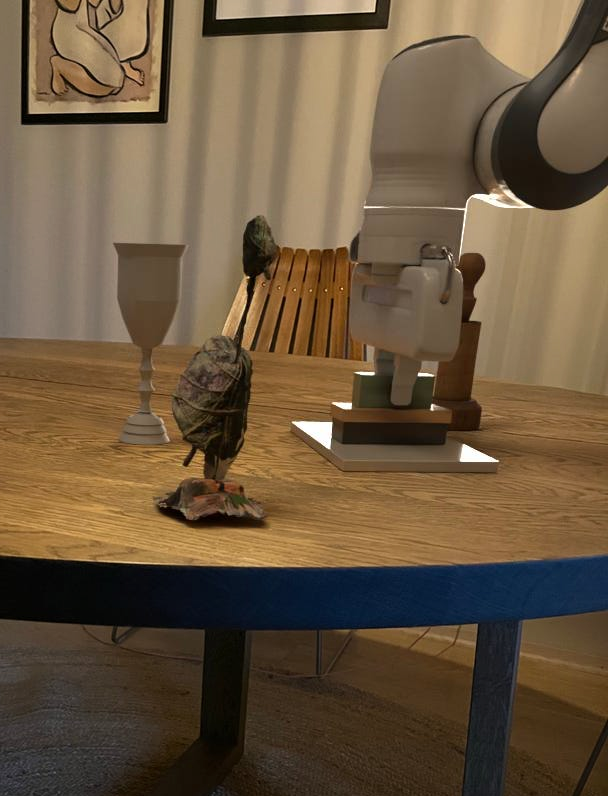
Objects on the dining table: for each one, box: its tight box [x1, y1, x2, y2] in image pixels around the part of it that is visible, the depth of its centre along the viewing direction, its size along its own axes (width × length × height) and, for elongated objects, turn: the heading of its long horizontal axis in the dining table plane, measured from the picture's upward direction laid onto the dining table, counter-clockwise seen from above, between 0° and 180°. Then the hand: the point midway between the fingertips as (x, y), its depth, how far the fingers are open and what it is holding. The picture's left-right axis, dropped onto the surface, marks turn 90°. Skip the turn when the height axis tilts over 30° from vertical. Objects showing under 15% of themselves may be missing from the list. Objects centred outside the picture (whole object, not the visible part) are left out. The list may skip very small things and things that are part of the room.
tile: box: [290, 421, 500, 474], centre depth 99 cm, size 14×20×1 cm
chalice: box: [112, 242, 189, 446], centre depth 98 cm, size 7×7×18 cm
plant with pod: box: [152, 214, 277, 521], centre depth 72 cm, size 8×11×20 cm
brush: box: [329, 371, 452, 445], centre depth 98 cm, size 10×4×6 cm, turn 95°
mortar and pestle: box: [432, 252, 487, 431], centre depth 111 cm, size 7×6×18 cm
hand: (391, 401), depth 97 cm, fingers closed on brush, 2 cm apart
